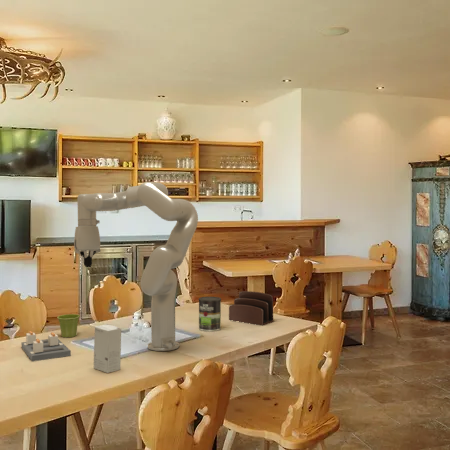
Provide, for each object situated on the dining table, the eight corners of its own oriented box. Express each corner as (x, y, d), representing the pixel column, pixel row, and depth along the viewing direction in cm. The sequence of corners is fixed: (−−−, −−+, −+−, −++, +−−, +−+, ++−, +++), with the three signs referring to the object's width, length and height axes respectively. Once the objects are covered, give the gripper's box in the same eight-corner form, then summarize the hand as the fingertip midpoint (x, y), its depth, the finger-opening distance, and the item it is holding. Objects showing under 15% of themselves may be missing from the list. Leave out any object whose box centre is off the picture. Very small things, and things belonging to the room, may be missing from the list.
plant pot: (68, 339, 225) (67, 319, 224) (52, 336, 230) (52, 317, 229) (84, 335, 233) (84, 315, 232) (69, 332, 238) (69, 313, 237)
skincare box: (93, 368, 185) (92, 326, 184) (107, 364, 189) (106, 323, 189) (108, 373, 179) (107, 330, 179) (122, 369, 184) (121, 326, 183)
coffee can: (215, 332, 237) (215, 301, 236) (195, 330, 241) (194, 299, 240) (224, 327, 246) (224, 297, 246) (204, 325, 250) (204, 295, 250)
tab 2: (43, 351, 198) (43, 340, 198) (34, 352, 196) (34, 341, 196) (41, 349, 201) (41, 338, 201) (33, 350, 199) (32, 339, 199)
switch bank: (70, 355, 201) (70, 350, 201) (31, 361, 194) (31, 355, 194) (57, 342, 220) (57, 337, 220) (21, 347, 213) (21, 342, 213)
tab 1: (36, 343, 210) (35, 332, 210) (28, 344, 208) (27, 333, 208) (34, 341, 213) (34, 330, 213) (26, 342, 212) (26, 331, 211)
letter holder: (239, 317, 269) (239, 289, 269) (273, 322, 258) (273, 293, 257) (228, 320, 261) (228, 292, 261) (262, 326, 249) (262, 296, 249)
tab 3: (58, 344, 207) (58, 333, 207) (50, 345, 206) (50, 334, 206) (56, 342, 210) (55, 332, 210) (48, 343, 209) (48, 332, 209)
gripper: (101, 222, 230) (102, 264, 231) (66, 223, 222) (67, 267, 223) (107, 223, 224) (108, 266, 224) (71, 224, 216) (72, 269, 217)
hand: (87, 266), depth 224 cm, fingers closed
